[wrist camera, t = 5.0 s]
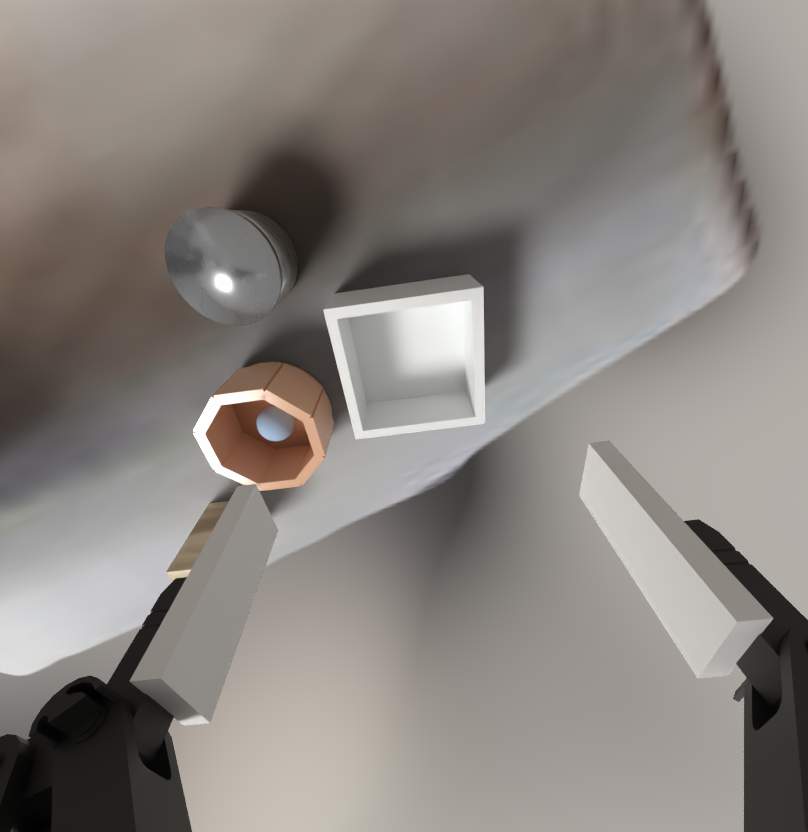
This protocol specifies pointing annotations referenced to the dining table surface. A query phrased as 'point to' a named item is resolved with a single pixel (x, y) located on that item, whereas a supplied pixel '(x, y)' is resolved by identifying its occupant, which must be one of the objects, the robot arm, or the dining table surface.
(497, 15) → the dining table surface
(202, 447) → the terracotta cup
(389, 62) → the dining table surface
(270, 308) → the tin
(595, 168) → the dining table surface
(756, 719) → the robot arm
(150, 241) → the dining table surface
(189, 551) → the block
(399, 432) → the tray white
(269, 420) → the ball
